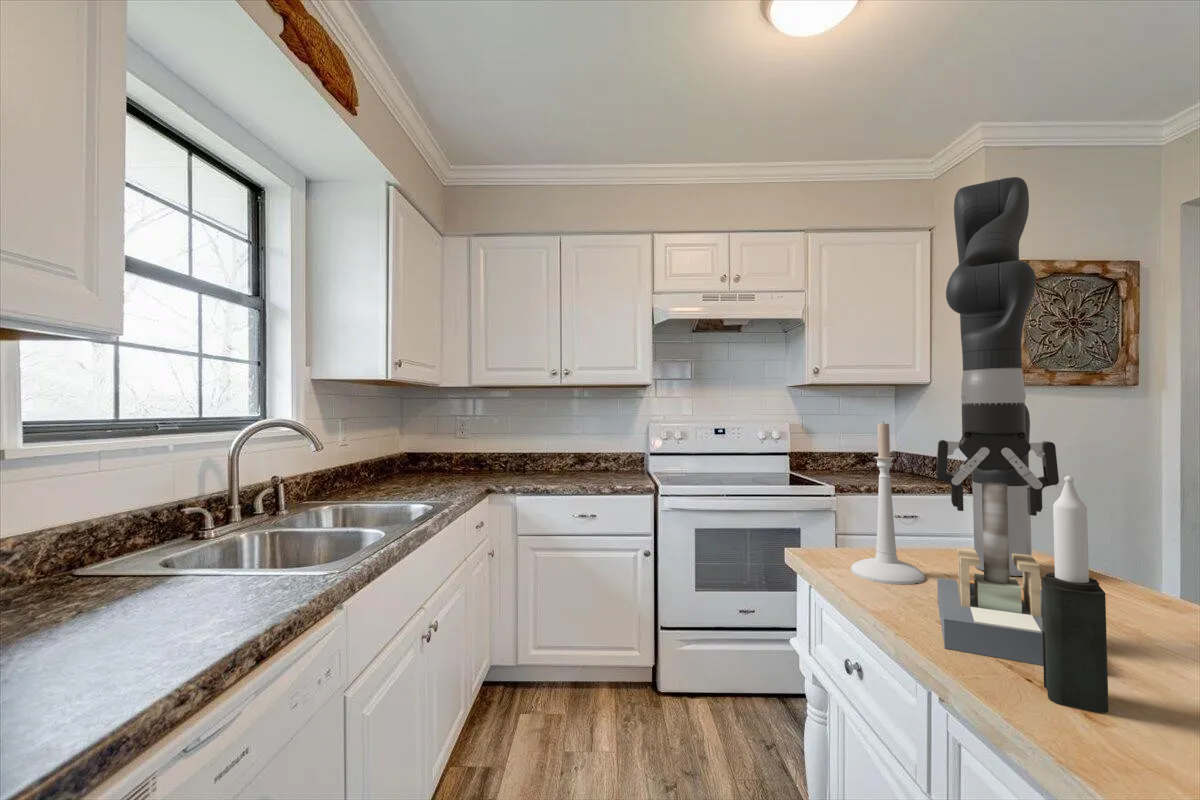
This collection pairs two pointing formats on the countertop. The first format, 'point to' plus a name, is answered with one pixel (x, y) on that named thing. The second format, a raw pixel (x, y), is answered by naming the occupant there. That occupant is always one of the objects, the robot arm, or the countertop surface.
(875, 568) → the candlestick
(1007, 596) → the post on square base
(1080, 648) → the candle
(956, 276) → the robot arm
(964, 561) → the wooden brackets
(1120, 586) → the countertop surface
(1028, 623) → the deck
